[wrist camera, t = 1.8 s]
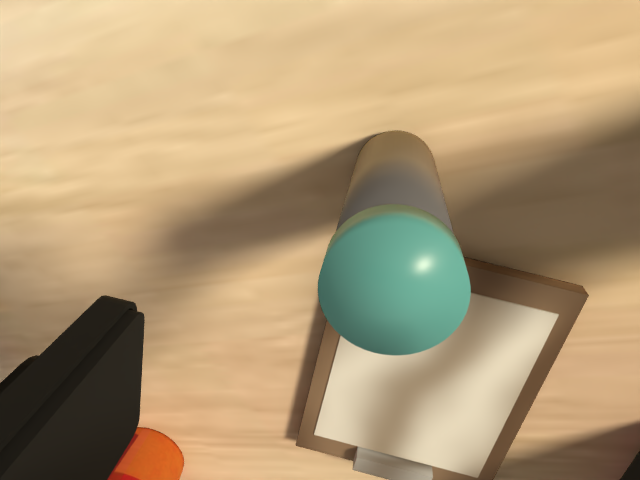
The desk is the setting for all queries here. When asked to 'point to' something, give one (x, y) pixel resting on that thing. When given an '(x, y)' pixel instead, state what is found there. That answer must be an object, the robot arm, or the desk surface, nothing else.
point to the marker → (394, 253)
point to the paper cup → (149, 458)
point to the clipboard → (443, 384)
